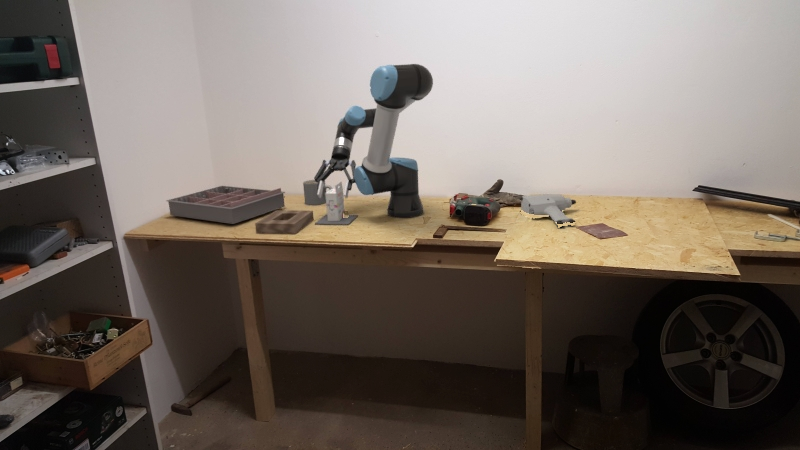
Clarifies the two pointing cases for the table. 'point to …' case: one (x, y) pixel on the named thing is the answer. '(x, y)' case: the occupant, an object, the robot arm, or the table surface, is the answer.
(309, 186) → the coffee mug
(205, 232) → the table surface
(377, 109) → the robot arm
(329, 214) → the ink cartridge box
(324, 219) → the rubber mat
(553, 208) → the impact wrench
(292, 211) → the cartridge holder
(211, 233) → the table surface
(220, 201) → the organizer tray
